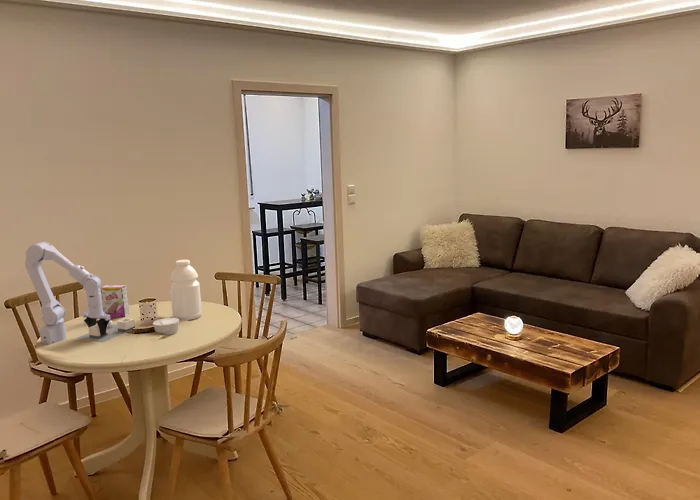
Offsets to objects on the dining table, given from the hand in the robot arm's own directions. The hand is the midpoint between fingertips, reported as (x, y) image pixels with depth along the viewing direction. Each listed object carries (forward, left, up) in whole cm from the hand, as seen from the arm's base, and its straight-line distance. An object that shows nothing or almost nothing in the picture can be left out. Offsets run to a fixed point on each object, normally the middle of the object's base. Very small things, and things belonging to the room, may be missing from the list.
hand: (98, 334), depth 249 cm
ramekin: (+18, -22, -3) cm, 29 cm away
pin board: (+5, 0, -2) cm, 6 cm away
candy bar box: (+26, +17, -3) cm, 31 cm away
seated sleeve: (+11, -5, -1) cm, 12 cm away
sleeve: (0, 0, -1) cm, 1 cm away
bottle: (+40, -15, -3) cm, 43 cm away
